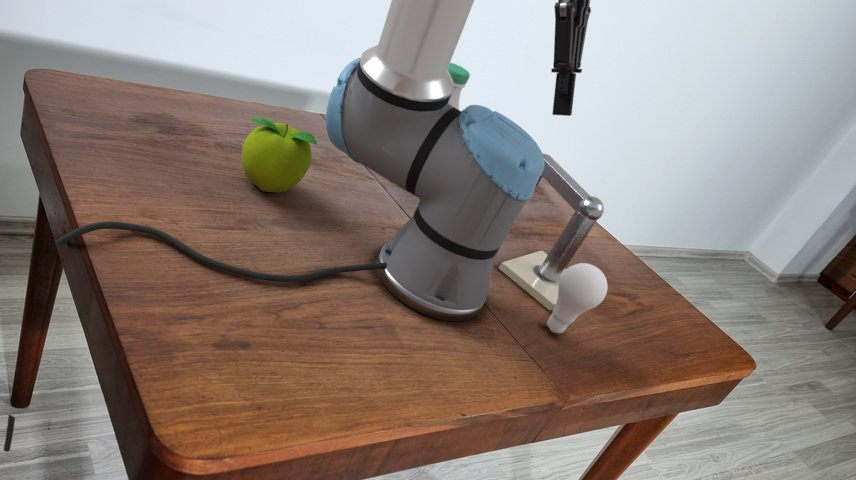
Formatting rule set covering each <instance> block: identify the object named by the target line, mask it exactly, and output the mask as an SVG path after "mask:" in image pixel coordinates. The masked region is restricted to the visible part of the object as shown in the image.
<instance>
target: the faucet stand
mask: <svg viewBox="0 0 856 480" xmlns="http://www.w3.org/2000/svg"><path fill="white" fill-rule="evenodd" d="M547 256H548V253H546V252H545V251H544V250H542V249H540V250H538V251H534V252H531V253H529V254H525V255H522V256H518V257H515V258H512V259H509V260H504V261H502V262H501V263H500V265H499V267H498V270H499V271H501V272H502V273H503V274H504V275H506V276H507V277H508V278H509V279H511V280H512V281H513V282H514V283H515V284H517V285H518V286H519V287H520V288H522V290H524V291H525V292H526V293H528V295H530V296H531V297H532V298H534V299H535V301H537V302H539V303H540V305H542V306H543V307H545V309H547V310H548V311H553V308H554V306H555V304H556V302H557V299H558V287H559V280H560V277H561V276H560V277H559V279H558V280H557V281H551V280H548V279H546V278H545V277H543V276H542V275H541V274H540V272H539V268H540V267H541V265H542V264H543V262H544V260H545V259H546V257H547ZM566 269H567V268H565V270H566ZM565 270H564V271H565ZM564 271H563V272H564ZM562 274H563V273H562ZM562 274H561V275H562Z"/></svg>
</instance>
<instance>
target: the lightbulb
mask: <svg viewBox="0 0 856 480" xmlns="http://www.w3.org/2000/svg"><path fill="white" fill-rule="evenodd" d="M565 269H566V270H565V271H564V272H563V274H562V275H561V277H560V280H559V287H558V299H557V302H556V304H555V306H554V308H553V310H551V311H552V313H551V314H550V316H549V317H548V320H547V322H546V325H547V327H548V328H549V331H550V332H551V333H553V334H563V333H564V332H565V331H566V330H567V329H568V327H569V326H570V324H573V323H574V322H575V321H576V319H577V318H579V316H580V315H582V314H584V313H585V312H587V311H590V310H593V309H594V308H596V307H598V306H599V305H600V304H601V303H603V301H604V300H605V299H606V296H607V294H608V280H607V278H606V276H605V274H604V273H603V271H602V270H601V269H600V268H599V267H597V266H595V265H593V264H590V263H584V262H580V263H575V264H573V265H571V266H569V267H567V268H565Z"/></svg>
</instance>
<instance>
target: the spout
mask: <svg viewBox="0 0 856 480" xmlns="http://www.w3.org/2000/svg"><path fill="white" fill-rule="evenodd" d="M542 154H543V157H544V169H543V172H542V174H541V176H540V178H539V180H538V182H537V184H536V186H535V187H538V185H539V184H540V182H541V180H542V178H543V179H544V180H545V181H546V182H547V183H548V184H549V185H550V186H551V187H552V188H553V189H554V190H555V192H557V194H558V195H560V196H561V198H562V199H563V200H564V201H565V202H566V203H567V204H568V205H569V206H570V207H571V208H572V209H573V210H574V213H573V214H572V216H571V217H570V219H569V221H568V222H567V224H566V226H565V227H564V229H563V230H562V231H561V234H560V235H559V236H558V237H557V240H556V241H555V243H554V245H553V246H552V247H551V249H550V250H549V252H548V253H547V255H548V256H547V257H546V259H545V260H544V262H543V264H542V265H541V267H540V268H539V272H540V274H541V275H542V276H543V277H545V278H546V279H548V280H551V281H557V280H558V279H559V277H560V276H561V274H562V273H563V271H564V270H565V269H567V268H568V265H569V264H570V262H571V261H572V259H573V258H574V256H575V254H576V253H577V252H578V250H579V248H580V247H581V246H582V244H583V242H584V241H585V239H586V238H587V236H588V235H589V233H590V232H591V230H592V229H593V227H594V226H595V224H597V223H596V222H597V221H598V220H599V219H600V218H601V217H602V216H603V214H604V213H605V212H604V211H605V205H604V203H603V202H602V200H601V199H599V198H598V197H597V196H594V195H593V196H592V195H590V194H589V193H588V192H587V191H586V190H585V189H584V188H583V187H582V186H581V185H580V184H579V183H578V182H577V181H576V180H575V179H574V178H573V177H572V176H571V175H570V173H568V172H567V171H566V170H565V169H564V168H563V167H562V166H561V165H560V164H559V163H558V162H557V161H556V160H555V159H554V158H553V157H552V156H551V155H549V154H548V153H543V152H542Z"/></svg>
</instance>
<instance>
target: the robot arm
mask: <svg viewBox="0 0 856 480" xmlns="http://www.w3.org/2000/svg"><path fill="white" fill-rule="evenodd" d="M474 3H475V0H391V1H390V5H389V7H388V11H387V14H386V18H385V21H384V25H383V27H382V31H381V34H380V37H379V40H378V44H376V45H373V46H371V47H369V48H367V49H366V50H364V52H362V54H361V55H360V57H357V58H355V59H353V60H352V61H350V62H349V63H348V64H347V65H346V66H345V67H344V69H342V71H341V72H340V74H339V76H338V77H337V81H336V82H337V83H336V85H335V86H333V87H332V89H331V92H330V94H329V98H328V102H327V106H326V111H325V130H326V134H327V136H328V139H329V140H330V142H331V144H332V145H333V146H334V147H335V148H336V149H338V150H339V151H340V152H342V153H344V154H345V155H346V156H347V157H349V158H350V159H351V160H352V162H355V163H357V164H359V165H360V164H361V165H362V166H364V167H366V168H368V169H369V170H371V171H373V172H374V173H376V174H378V175H379V176H381V177H383V178H385V179H386V180H388V181H390V182H391V183H392V184H395V185H396V186H398V187H400V188H401V189H403V190H405V191H406V192H408V193H410V194H411V195H413V196H415V197H417V198H418V199H419V202H418V205H417V206H416V209H415V211H414V213H413V214H412V216H411V217H410V219H409V220H408V221H407V222H406V223H404V225H403V226H402V227H400V229H398V230H397V232H395V233H394V234H393V235H392V236H391V237H390V238H389V239H388V240H387V241H386V242H385V243H384V244H383V246H382V247H381V250H380V252H379V253H378V255H377V258H376V261H375V262H373V263H364V264H363V263H361V264H352V265H342V266H335V267H329V268H324V269H320V270H316V271H313V272H309V273H304V274H303V273H302V274H292V275H291V274H290V275H288V274H287V275H286V274H274V273H273V274H271V273H264V272H259V271H258V272H257V271H252V270H248V269H244V268H240V267H236V266H233V265H230V264H226V263H224V262H221V261H217V260H215V259H213V258H210V257H208V256H205V255H204V254H201V253H200V252H198V251H196V250H194V249H193V248H191V247H190V246H188V245H187V244H185V243H184V242H182V241H180V240H178V239H177V238H175V237H174V236H172V235H170V234H169V233H166V232H164V231H161V230H160V229H158V228H157V229H156V228H154V227H150V226H147V225H142V224H135V223H129V222H123V221H99V222H93V223H89V224H86V225H83V226H80V227H78V228H76V229H73V230H72V231H70V232H68V233H66V234H64V235H62V236H61V237H59V238H58V239H57V240H55V244H56V245H58V246H63V245H66V244H67V243H69V242H70V241H72V240H74V239H76V238H78V237H80V236H82V235H85V234H88V233H91V232H94V231H99V230H108V229H109V230H110V229H111V230H112V229H113V230H123V231H131V232H136V233H137V232H138V233H143V234H146V235H147V234H148V235H151V236H153V237H156V238H159V239H161V240H163V241H165V242H167V243H169V244H170V245H172V246H174V247H175V248H177V249H179V250H180V251H181V252H183V253H184V254H186V255H188V256H189V257H191V258H193V259H194V260H196V261H198V262H200V263H202V264H205V265H207V266H210V267H212V268H215V269H218V270H220V271H224V272H226V273H230V274H234V275H238V276H241V277H245V278H249V279H255V280H259V281H268V282H280V283H297V282H298V283H299V282H307V281H310V280H315V279H319V278H321V277H326V276H330V275H335V274H341V273H350V272H353V273H354V272H362V271H373V270H375V271H376V274H377V276H378V278H379V280H380V281H381V282H382V284H383V286H384V287H385V288H386V289H387V290H388V291H389V292H390V293H391V294H392V295H393V296H394V297H395V298H396V299H398V300H399V301H400V302H401V303H403V304H405V306H406V305H407V306H408V307H409V308H410V309H413V310H414V311H417V312H419V313H420V314H423V315H425V316H427V317H431V318H434V319H436V320H442V321H447V322H463V321H468V320H472V319H473V318H474V317H477V315H478V314H479V313H480V311H481V309H482V308H483V306H484V305H485V304H486V303H485V302H486V301H487V298H488V292H489V286H490V281H491V275H492V271H493V270H492V269H493V266H494V265H493V264H494V259H495V257H496V256H497V254H498V252H499V250H500V248H501V247H502V245H503V243H504V241H505V240H506V238H507V237H508V234H509V233H510V231H511V229H512V227H513V226H514V224H515V222H516V221H517V219H518V217H519V215H520V213H521V212H522V210H523V208H524V206H525V205H526V203H527V202H528V201H529V200H530V199H531V198H532V197H533V195H534V193H535V188H536V187H537V186H536V184H537V182H538V180H539V178H540V176H541V174H542V172H543V169H544V157H543V154H544V153H543V152H542V149H541V148H540V146H539V145H538V144H537V142H536V140H535V139H534V138H533V137H532V135H530V134H529V133H528V132H527V131H526V130H525V129H523V128H522V127H521V126H520V125H519V124H517V123H516V122H515V121H513V120H512V119H511V118H509V117H507V116H506V115H504V114H502V113H500V112H498V111H496V110H494V111H493V110H492V109H490V108H489V107H488V106H484V105H480V104H470V105H468V106H466V107H465V108H464V109H463V110H460V109H459V110H458V109H456V108H455V107H453V106H451V105H450V104H448V102H449V99H450V97H451V94H452V92H453V88H454V82H453V79H452V77H451V75H450V73H449V71H448V67H449V64H450V63H451V61H452V59H453V56H454V54H455V51H456V49H457V47H458V43H459V41H460V39H461V36H462V33H463V31H464V28H465V26H466V23H467V21H468V18H469V16H470V12H471V10H472V7H473V5H474ZM590 3H591V0H557V2H555V4H554V6H553V7H554V17H555V18H554V19H555V21H554V43H553V44H554V45H553V46H554V47H553V63H552V64H553V65H552V66H553V68H551V70H550V71H551V73H556V75H555V76H556V77H555V84H554V85H555V86H554V94H553V95H554V96H553V105H552V115H553V116H567V117H570V116H572V114H573V105H574V97H575V88H576V78H577V74H582V73H583V68H581V66H582V59H583V53H584V52H583V51H584V46H585V41H586V34H587V29H588V22H589V19H590V15H591V13H592V9H591V6H590V5H591V4H590ZM542 153H543V154H542ZM15 421H16V417H15V416H13V415H11V414H8V419H7V426H6V433H5V439H4V446H3V451H4V452H10V451H11V447H12V442H13V437H14V436H13V435H14V427H15Z"/></svg>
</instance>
